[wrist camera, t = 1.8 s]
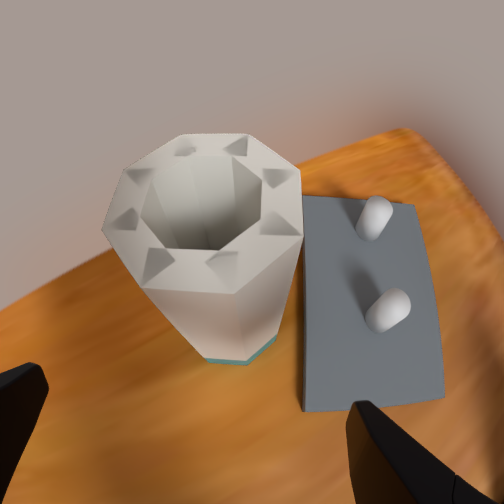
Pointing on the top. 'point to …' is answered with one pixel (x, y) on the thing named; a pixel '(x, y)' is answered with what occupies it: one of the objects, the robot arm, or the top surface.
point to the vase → (212, 239)
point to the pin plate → (367, 306)
